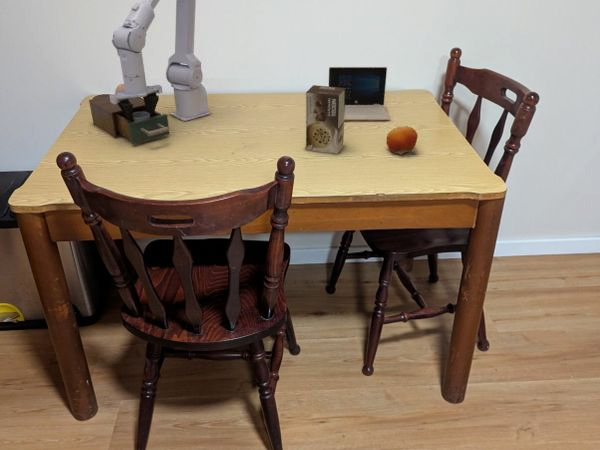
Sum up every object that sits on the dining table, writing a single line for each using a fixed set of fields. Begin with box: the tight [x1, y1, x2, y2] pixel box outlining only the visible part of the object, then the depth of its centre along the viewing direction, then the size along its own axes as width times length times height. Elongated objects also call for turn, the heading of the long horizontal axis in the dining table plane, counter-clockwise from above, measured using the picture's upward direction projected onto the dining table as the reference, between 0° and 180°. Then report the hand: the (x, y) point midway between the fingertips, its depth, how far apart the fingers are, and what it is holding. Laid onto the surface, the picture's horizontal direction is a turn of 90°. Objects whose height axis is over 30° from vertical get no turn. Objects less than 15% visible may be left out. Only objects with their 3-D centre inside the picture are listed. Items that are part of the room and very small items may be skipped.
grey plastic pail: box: [133, 112, 150, 122], centre depth 155 cm, size 5×5×4 cm
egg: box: [114, 83, 125, 94], centre depth 179 cm, size 5×5×7 cm
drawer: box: [114, 107, 170, 145], centre depth 155 cm, size 18×11×6 cm, turn 42°
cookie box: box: [305, 84, 346, 155], centre depth 147 cm, size 9×6×16 cm
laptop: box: [328, 66, 390, 122], centre depth 171 cm, size 18×12×13 cm
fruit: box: [386, 125, 418, 156], centre depth 148 cm, size 8×8×8 cm
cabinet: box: [88, 94, 146, 139], centre depth 163 cm, size 14×12×7 cm
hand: (141, 123), depth 156 cm, fingers closed on grey plastic pail, 5 cm apart
